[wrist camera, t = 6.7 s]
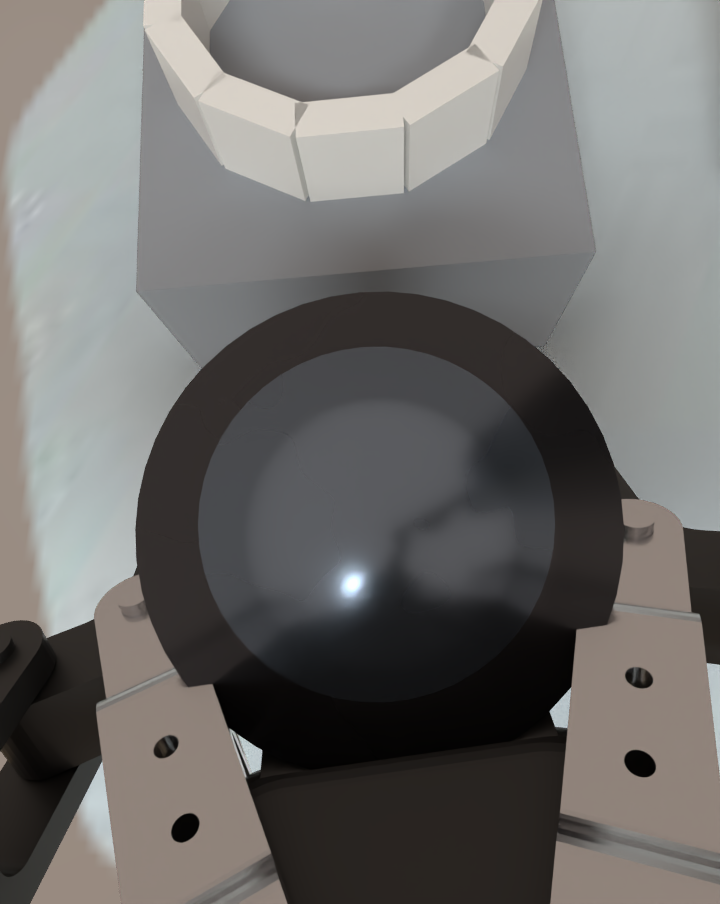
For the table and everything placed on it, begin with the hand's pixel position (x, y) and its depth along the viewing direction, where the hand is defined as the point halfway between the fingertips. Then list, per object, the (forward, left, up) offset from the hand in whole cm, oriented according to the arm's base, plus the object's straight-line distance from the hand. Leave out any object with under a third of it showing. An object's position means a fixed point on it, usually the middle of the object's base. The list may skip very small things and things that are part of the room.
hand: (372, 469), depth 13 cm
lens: (0, +2, -4) cm, 5 cm away
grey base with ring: (0, -10, -5) cm, 11 cm away
